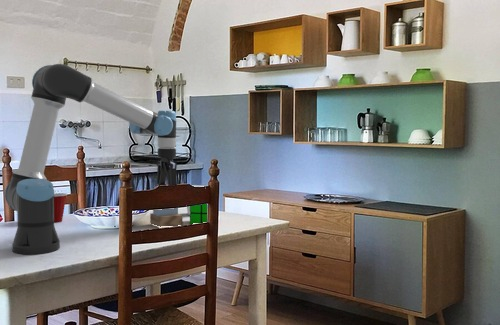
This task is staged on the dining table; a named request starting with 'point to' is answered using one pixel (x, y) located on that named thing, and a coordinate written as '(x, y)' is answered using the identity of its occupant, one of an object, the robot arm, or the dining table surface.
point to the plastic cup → (59, 206)
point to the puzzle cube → (198, 213)
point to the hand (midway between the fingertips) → (166, 202)
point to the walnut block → (166, 220)
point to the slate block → (165, 212)
